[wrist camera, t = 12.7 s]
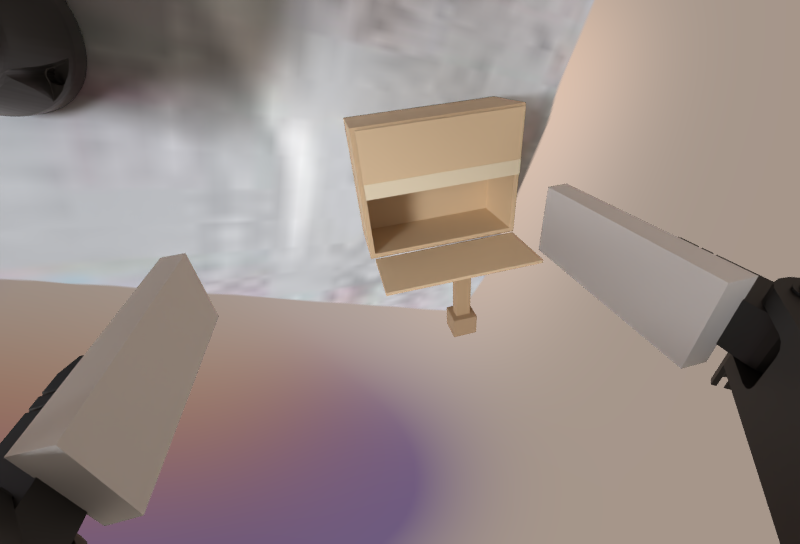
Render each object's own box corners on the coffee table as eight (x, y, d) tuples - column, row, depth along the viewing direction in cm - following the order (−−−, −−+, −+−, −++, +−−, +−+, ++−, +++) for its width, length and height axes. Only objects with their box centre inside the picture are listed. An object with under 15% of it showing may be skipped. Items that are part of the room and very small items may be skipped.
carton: (363, 232, 50) (372, 262, 42) (343, 117, 41) (349, 130, 34) (488, 209, 52) (516, 233, 45) (493, 96, 44) (530, 103, 36)
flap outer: (375, 259, 43) (384, 314, 48) (386, 293, 37) (395, 352, 42) (512, 232, 45) (506, 288, 50) (543, 259, 39) (532, 319, 44)
